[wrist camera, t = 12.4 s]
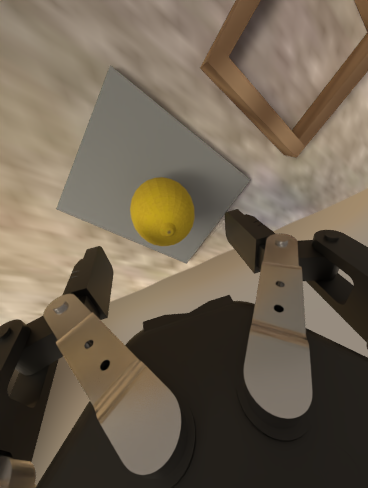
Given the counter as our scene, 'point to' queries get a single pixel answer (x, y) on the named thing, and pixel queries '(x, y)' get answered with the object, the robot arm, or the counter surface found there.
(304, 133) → the walnut collar
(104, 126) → the grey rectangular plate
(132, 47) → the counter surface
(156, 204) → the lemon
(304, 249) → the robot arm
